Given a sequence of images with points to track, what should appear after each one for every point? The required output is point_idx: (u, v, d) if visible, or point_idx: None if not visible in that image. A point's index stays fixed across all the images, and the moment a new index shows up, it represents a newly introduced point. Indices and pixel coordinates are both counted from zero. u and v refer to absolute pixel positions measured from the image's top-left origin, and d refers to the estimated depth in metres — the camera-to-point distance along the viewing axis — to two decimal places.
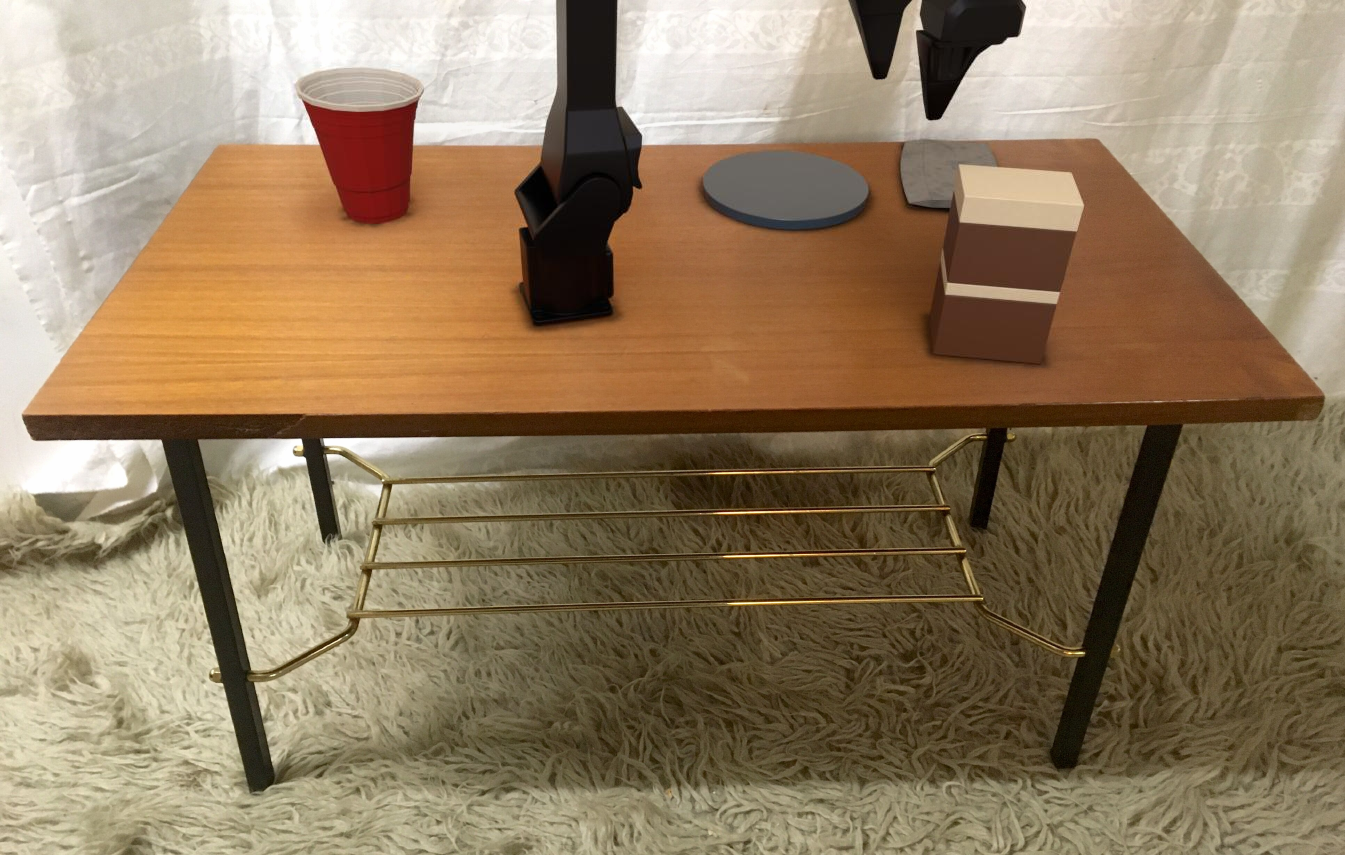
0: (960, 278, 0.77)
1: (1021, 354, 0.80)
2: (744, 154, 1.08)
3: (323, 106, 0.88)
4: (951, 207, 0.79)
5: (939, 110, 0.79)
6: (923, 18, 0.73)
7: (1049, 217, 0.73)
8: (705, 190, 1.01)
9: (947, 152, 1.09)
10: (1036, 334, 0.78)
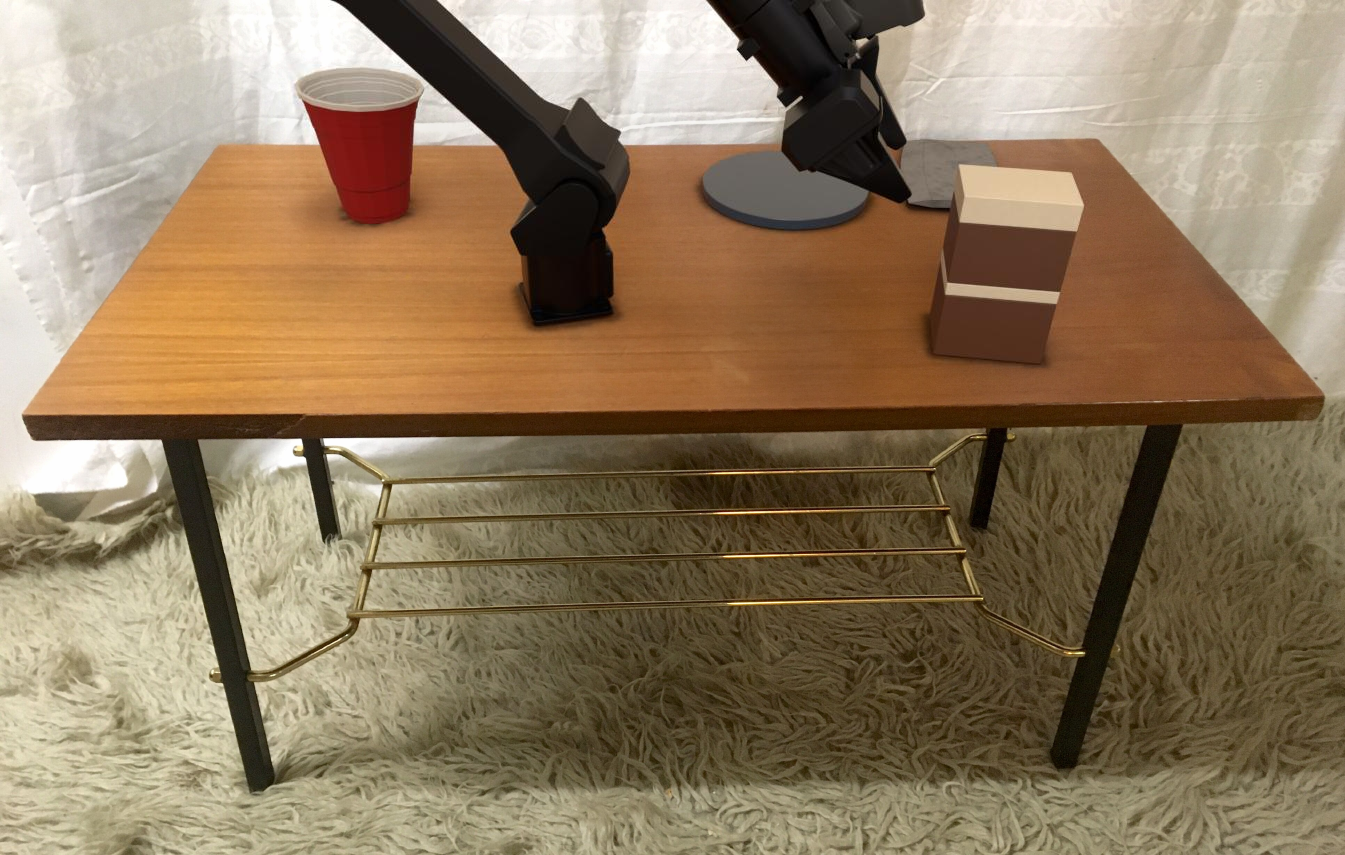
0: (960, 278, 0.77)
1: (1021, 354, 0.80)
2: (744, 154, 1.08)
3: (323, 106, 0.88)
4: (951, 207, 0.79)
5: (901, 190, 0.71)
6: None
7: (1049, 217, 0.73)
8: (705, 190, 1.01)
9: (947, 152, 1.09)
10: (1036, 334, 0.78)
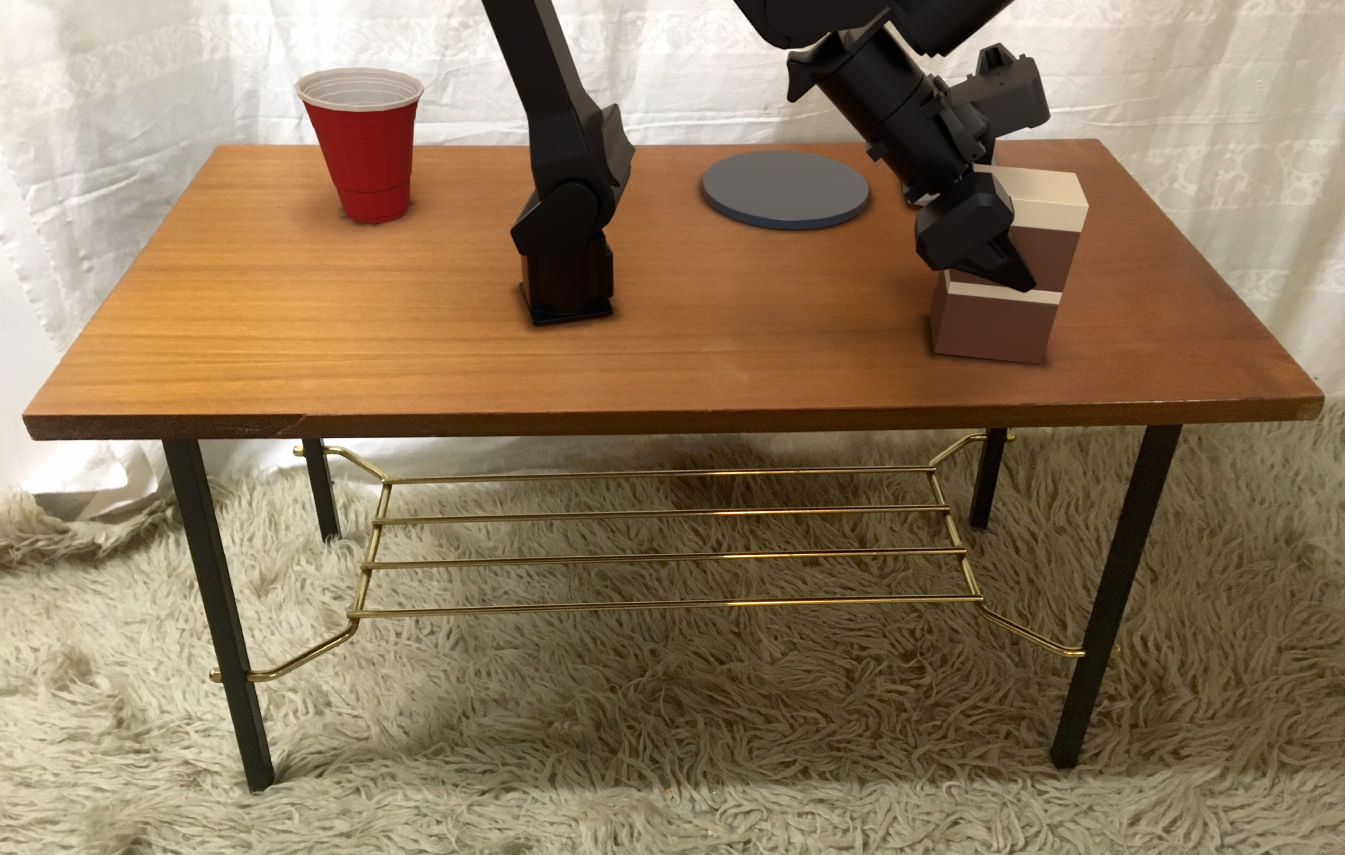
0: (963, 277, 0.76)
1: (1022, 354, 0.80)
2: (744, 154, 1.08)
3: (323, 106, 0.88)
4: None
5: (1027, 280, 0.73)
6: None
7: (1054, 217, 0.73)
8: (705, 190, 1.01)
9: None
10: (1037, 334, 0.78)
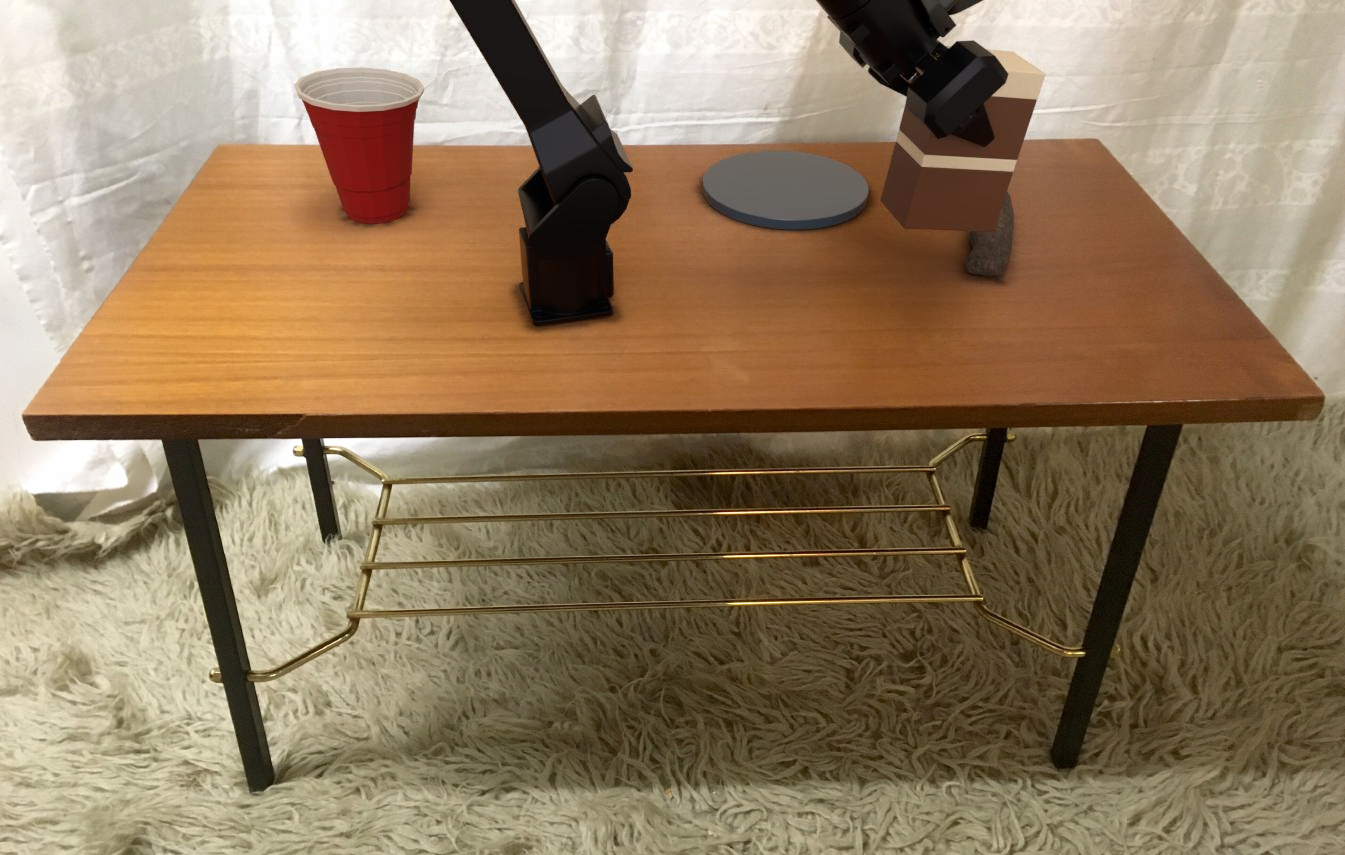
0: (936, 149, 0.81)
1: (979, 223, 0.86)
2: (744, 154, 1.08)
3: (323, 106, 0.88)
4: None
5: (987, 134, 0.81)
6: (917, 118, 0.76)
7: (1017, 86, 0.80)
8: (705, 190, 1.01)
9: None
10: (993, 202, 0.85)
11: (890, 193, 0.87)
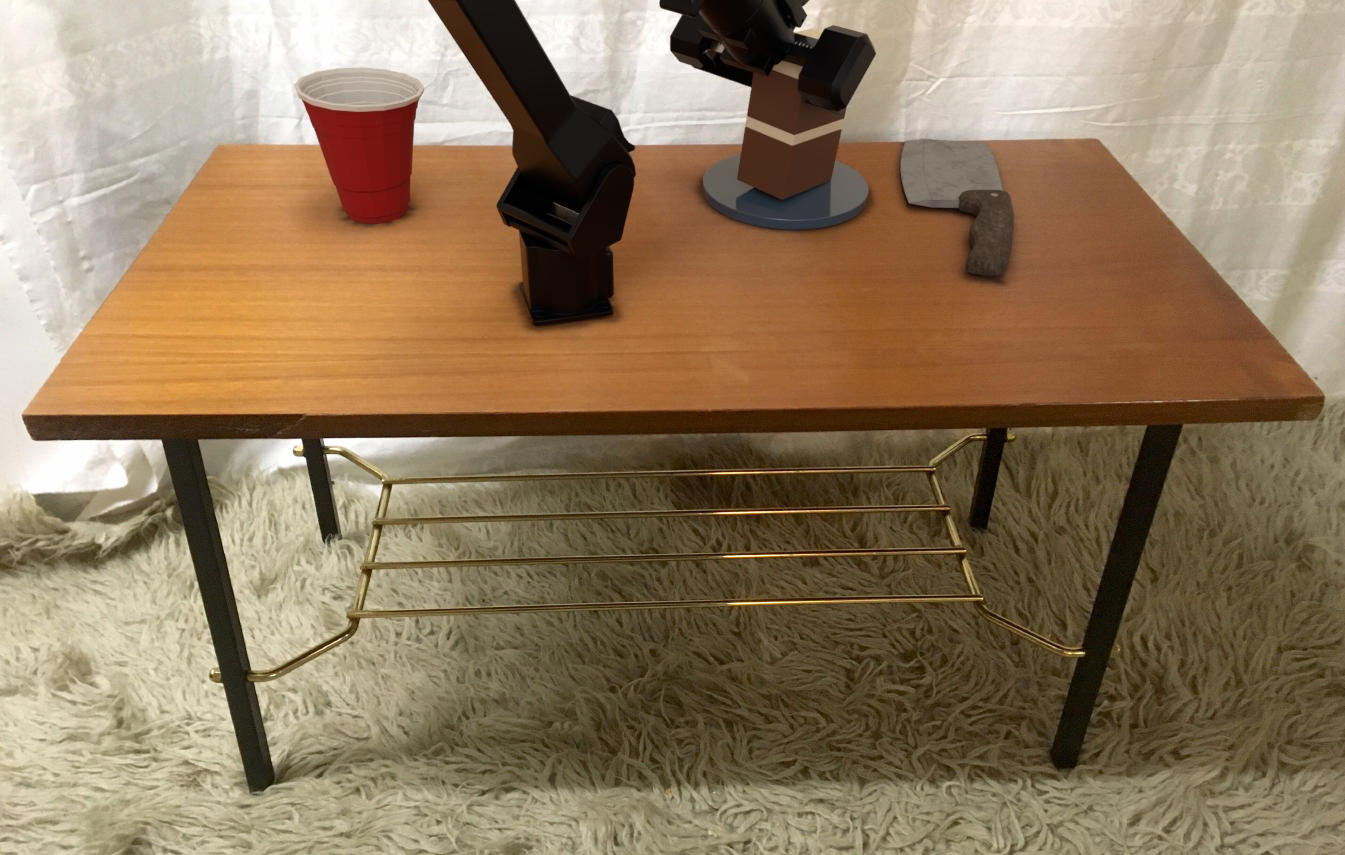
0: (800, 128, 0.95)
1: (823, 177, 1.02)
2: None
3: (323, 106, 0.88)
4: (758, 78, 0.95)
5: None
6: (807, 99, 0.89)
7: None
8: (705, 190, 1.01)
9: (947, 152, 1.09)
10: (831, 157, 1.01)
11: (751, 172, 0.99)
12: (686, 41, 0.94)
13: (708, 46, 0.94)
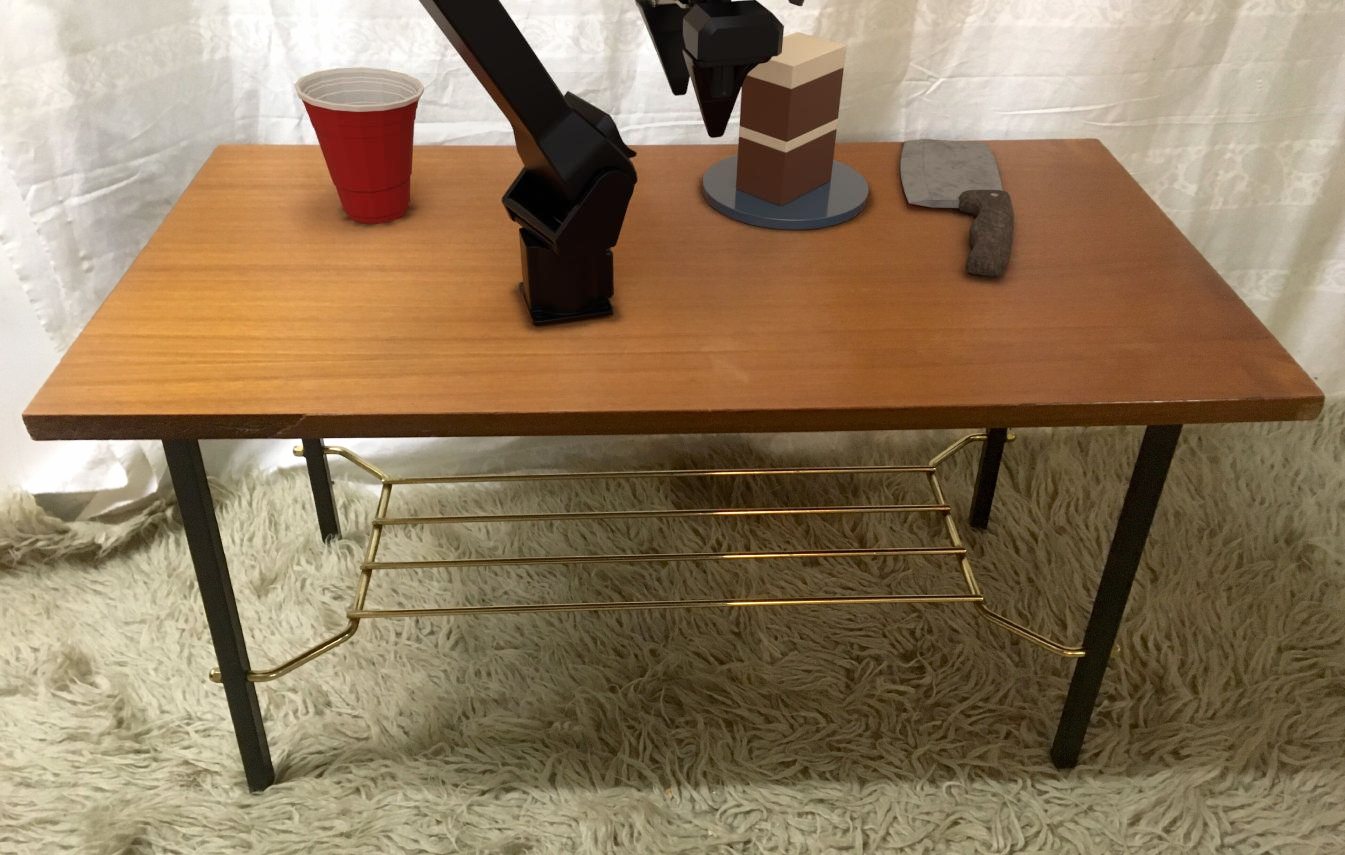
0: (793, 134, 0.95)
1: (822, 178, 1.02)
2: None
3: (323, 106, 0.88)
4: (746, 88, 0.95)
5: (719, 127, 0.80)
6: (685, 37, 0.74)
7: (832, 62, 0.95)
8: (705, 190, 1.01)
9: (947, 152, 1.09)
10: (828, 158, 1.01)
11: (749, 180, 1.00)
12: None
13: None
